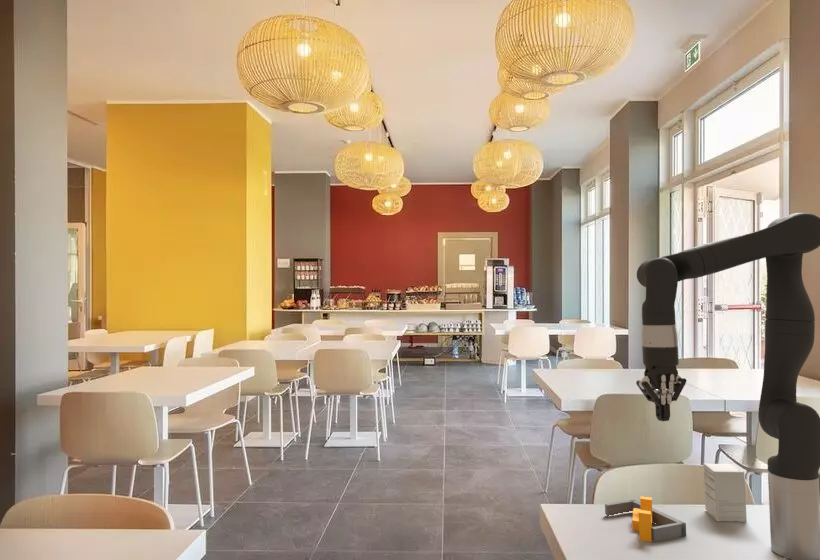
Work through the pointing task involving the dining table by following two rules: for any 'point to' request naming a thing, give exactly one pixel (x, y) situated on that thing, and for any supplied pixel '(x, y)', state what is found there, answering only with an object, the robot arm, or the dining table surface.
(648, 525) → the pipe clamp
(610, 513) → the frame
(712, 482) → the supplement box
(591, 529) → the dining table surface
